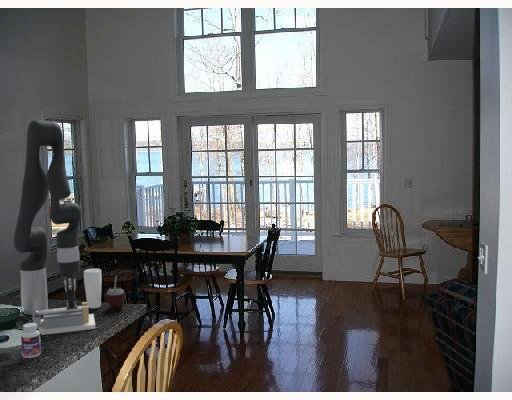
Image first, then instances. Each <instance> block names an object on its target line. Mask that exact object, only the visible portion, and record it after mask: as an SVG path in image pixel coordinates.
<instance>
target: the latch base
mask: <svg viewBox="0 0 512 400" xmlns="http://www.w3.org/2000/svg"><path fill="white" fill-rule="evenodd" d="M84 305H86V306H84ZM81 306H83V307H82V310H81V311H72V312H63V313H54V314H45V315H43V318H42V319H41V315H38V316H37V317H35V316H34V314H33V315H32V320H33V323H36V324H37V327H38V329H39V331H40V334H41V335H40V336H44V335H52V334H54V335H55V334H63V333H71V332H77V331H78V332H79V331H80V332H81V331H87V330H95V329H96V321H95V315H94V313H89V312H90V311H89V308H88V302H87V301H85V302H81Z"/></svg>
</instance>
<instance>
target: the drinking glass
mask: <svg viewBox="0 0 512 400" xmlns="http://www.w3.org/2000/svg"><path fill="white" fill-rule="evenodd" d="M102 281H103V276H102V269H100V268H88V269H85V270H83V283H84V291H85V297H86V302H88V309H98V308H100V307H101V306H102V303H101V302H102V301H101V300H102V285H103V284H102V283H103V282H102Z"/></svg>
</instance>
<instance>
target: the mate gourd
mask: <svg viewBox="0 0 512 400" xmlns="http://www.w3.org/2000/svg"><path fill="white" fill-rule="evenodd" d="M117 278H118V274H117V275H115V278H114V281H113V282H114V287H111V288H108V289H107V291H106V295H105V298H106V302H107V304H108V305H109V307H108V309H109V311H110V312H114V311H117V310H118V311H123V310H124V308H123V305H124V302H125V299H126V296H125V291H124V289H122V288H121V287H117V280H118V279H117Z"/></svg>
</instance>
